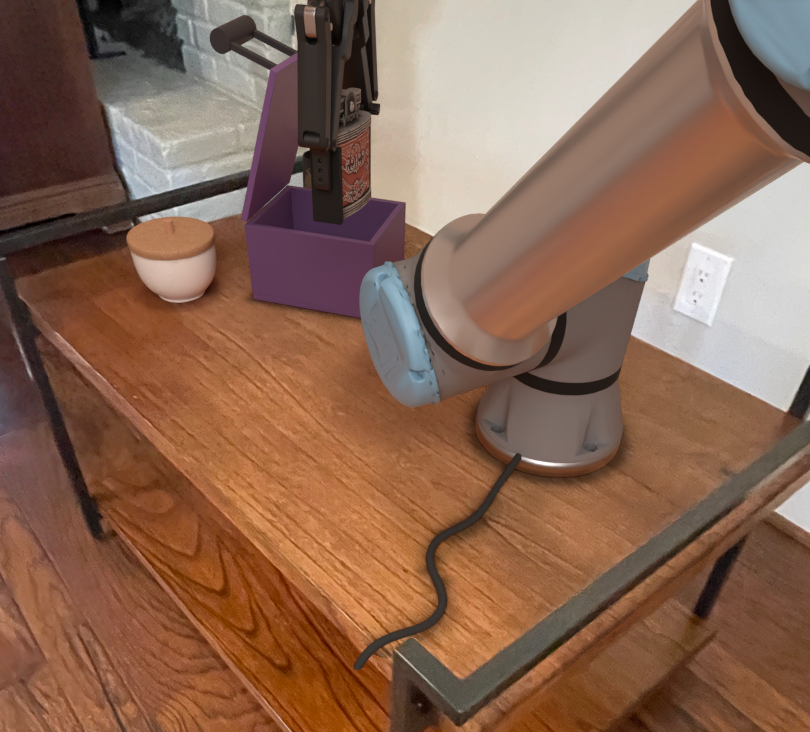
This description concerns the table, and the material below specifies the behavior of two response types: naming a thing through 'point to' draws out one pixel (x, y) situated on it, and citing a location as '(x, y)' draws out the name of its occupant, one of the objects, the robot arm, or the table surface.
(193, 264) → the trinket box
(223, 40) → the lid
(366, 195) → the lighter
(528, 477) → the table surface
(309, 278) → the purple box base
